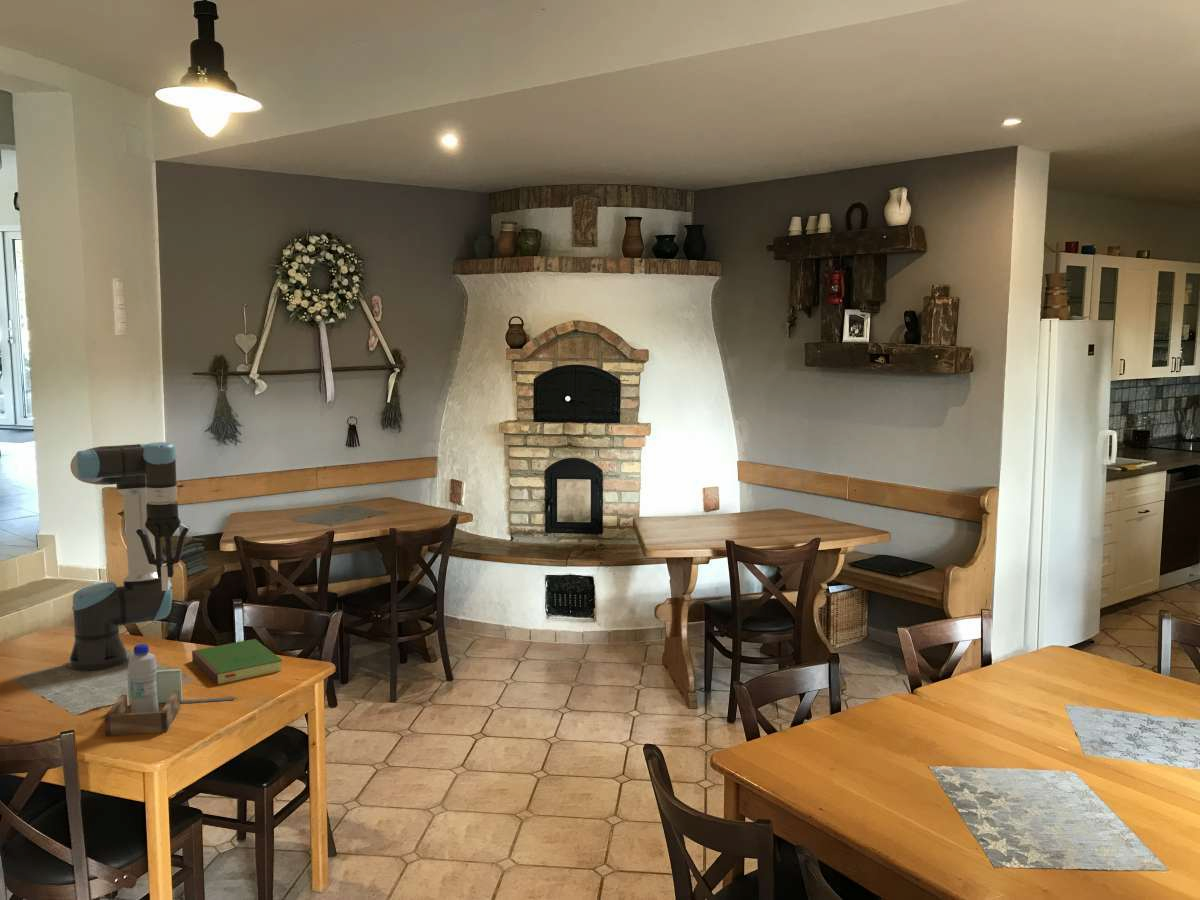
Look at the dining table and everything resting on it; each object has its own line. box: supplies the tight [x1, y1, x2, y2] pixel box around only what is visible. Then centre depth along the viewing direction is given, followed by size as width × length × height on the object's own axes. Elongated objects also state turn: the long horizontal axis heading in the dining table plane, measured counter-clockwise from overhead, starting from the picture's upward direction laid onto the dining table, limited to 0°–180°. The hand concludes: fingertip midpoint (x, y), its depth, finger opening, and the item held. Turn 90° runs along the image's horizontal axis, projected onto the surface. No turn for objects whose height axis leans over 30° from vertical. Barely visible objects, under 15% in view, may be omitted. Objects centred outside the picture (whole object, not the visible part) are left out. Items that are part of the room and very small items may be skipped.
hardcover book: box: [191, 638, 283, 686], centre depth 279 cm, size 25×19×4 cm
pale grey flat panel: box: [127, 668, 184, 706], centre depth 249 cm, size 1×13×9 cm, turn 102°
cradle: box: [103, 691, 236, 737], centre depth 242 cm, size 20×27×5 cm
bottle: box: [127, 643, 160, 713], centre depth 238 cm, size 7×7×20 cm
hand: (166, 589), depth 249 cm, fingers closed
